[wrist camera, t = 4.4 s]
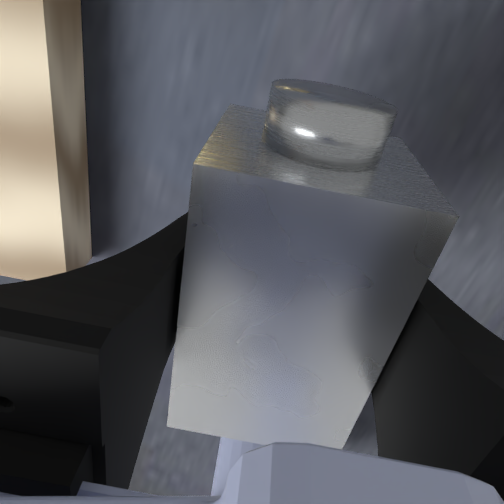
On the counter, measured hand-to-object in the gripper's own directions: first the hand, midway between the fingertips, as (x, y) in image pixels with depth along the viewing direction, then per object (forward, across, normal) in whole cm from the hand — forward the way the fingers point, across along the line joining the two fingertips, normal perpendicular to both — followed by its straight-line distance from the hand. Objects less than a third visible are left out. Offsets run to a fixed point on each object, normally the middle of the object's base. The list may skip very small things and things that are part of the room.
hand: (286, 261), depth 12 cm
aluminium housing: (+2, 0, 0) cm, 2 cm away
